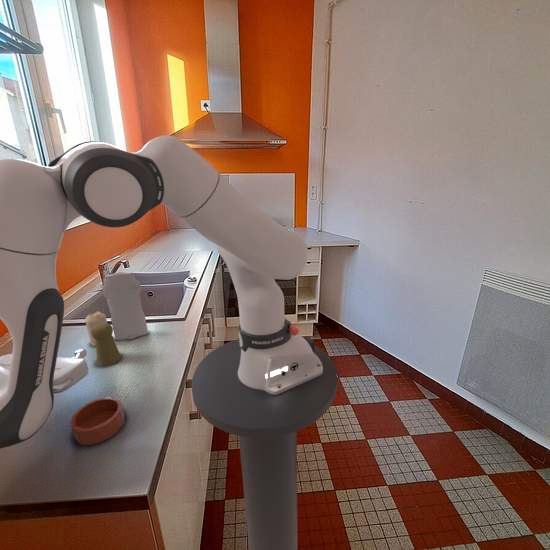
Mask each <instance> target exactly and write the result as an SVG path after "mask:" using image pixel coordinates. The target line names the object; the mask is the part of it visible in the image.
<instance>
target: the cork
mask: <svg viewBox="0 0 550 550" xmlns="http://www.w3.org/2000/svg"><path fill="white" fill-rule="evenodd" d="M113 334H114V331H113V327H112V324H110V323H108V322H107V323H102V324H98V325H96V326H95V327H93V328H92V331H91V335H92V337H93V338H94V339H95V343H96V346H95V351H96V352H95V354H96V364H97V365H98V367H108V366H112V365H114V364H116V363H118V362H119V361H120V360H121V358H122V355H121V353H120V350H119V348H118V346H117V344H116V341H115V338H114V336H113Z"/></svg>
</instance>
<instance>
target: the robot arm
mask: <svg viewBox="0 0 550 550" xmlns="http://www.w3.org/2000/svg"><path fill="white" fill-rule="evenodd" d="M160 204H161V205H163V206H164V207H166V208H167V209H168V210H169V211H171V212H172V213H173V214H175V215H176V216H177V217H179V218H180V219H181V220H182V221H183V222H185V224H187V225H189V226H190V227H191V228H192V229H194V230H195V231H196V232H197V233H199V234H200V235H201V236H202V237H204V238H205V239H206V240H207V241H209V242H211V243H212V244H214V245H215V247H216V250H217V252H218V254H219V255H220V257H221V258H222V260H223V261H224V263H225V265H226V267H227V270H228V272H229V275H230V278H231V281H232V284H233V286H234V290H235V293H236V297H237V303H238V314H239V322H240V323H239V324H238V339H239V342H240V346H241V358H240V365H239V369H238V378H239V380H240V381H241V382H242V383H243V384H244V385H246V386H248V387H250V388H253V389H259V390H264V391H266V392H268V393H270V394H273V395H277V394H280V393H282V392H284V391H287V390H289V389H291V388H293V387H296V386H298V385H300V384H302V383H305V382H307V381H309V380H311V379H314V378H316V377H318V376H320V375H322V374H323V366H322V363H321V361H320V359H319V358H318V357H317V355H316V354H315V353H314V352H315V346H316V342H315V341H314V340H312V339H311V337H309V336H307V335H305V336H301V335H300V334H299V332H300V331H299V328H298V327H297V326H296V325H293V324H292V322H291V321H290V320H288V319H287V318H286V317H285V296H284V292H283V291H282V289H281V287H280V286H279V284H277V282H276V280H283V281H284V280H286V281H288V280H293V279H295V278H297V277H298V276H300V274H301V273H302V272H303V271H304V269H305V267H306V265H307V263H308V257H309V249H308V246H307V245H308V244H307V243H306V241H305V239H304V238H303V237H302V236H300V235H299V234H297V233H295V232H293V231H291V230H290V229H288V228H286V227H284V226H283V225H282V224H280V223H279V222H277V221H276V220H274V218H272V217H271V216H269V215H268V214H267V213H265V212H264V211H263V210H261V209H260V208H258V207H257V206H256V205H254V204H252V203H251V202H250V201H249V200H247V199H246V198H245V197H244V196H242V194H241V193H240V192H238V190H237V189H235V187H234V186H233V185H232V184H230V182H229V181H228V180H227V179H225V177H224V176H223V175H222V174H221V173H220V172H219V171H218V170H217V169H216V168H215V167H214V166H213V165H212V164H211V163H210V162H209V161H208V160H206V158H204V156H202V155H201V154H200V153H198V152H197V151H196V150H195V149H193V148H192V147H191V146H189V145H188V144H187V143H186V142H184V141H183V140H181V139H179V138H178V137H176V136H173V135H169V134H164V135H159V136H156V137H154V138H152V139H151V140H149V141H148V142H147V143H145V144H144V146H143V147H142V149H141V150H139V151H136V152H129V151H127V150H125V149H123V148H120V147H118V146H115V145H113V144H110V143H106V142H102V141H95V140H94V141H93V140H90V141H84V142H81V143H78V144H75V145H73V146H72V147H70V148H69V149H68V150H66V151H65V152H64V153H62V154H61V155H59V156H57V157H56V158H54V159H53V160H51V161H50V162H49V163H48V165H47V166H45V165H41V164H39V163H36V162H34V161H30V160H26V159H25V160H24V159H16V158H4V159H0V321H1V322H2V323H3V324H4V325H5V327H6V328H7V330H8V332H9V334H10V337H11V340H12V352H11V353H7V354H4V355H1V356H0V449H4V448H8V447H12V446H15V445H18V444H21V443H24V442H25V441H28V440H30V438H32V437H34V435H36V434H37V433H38V432H39V431H40V429H41V428H42V427H43V426H44V425H45V423H46V422H47V421H48V419H49V417H50V415H51V413H52V411H53V408H54V404H55V394H60V393H63V392H65V391H67V390H69V389H70V388H72V387H74V386H75V385H76V384H78V383H79V382H80V381H82V380H83V379H84V378H85V377H87V376H88V375H89V366H88V363H87V360H86V359H85V358H86V356H87V355H88V352H87V349H86V348H78V349H77V350H75V351H74V356H71V357H67V356H66V357H65V356H58V353H59V348H60V347H59V346H60V343H61V335H62V330H63V323H64V317H65V316H64V315H65V299H64V298H63V296H62V294H61V292H60V290H59V286H58V283H57V270H56V269H57V266H56V265H57V257H58V254H59V250H60V247H61V244H62V242H63V238H64V235H65V232H66V231H67V229H68V228H69V226H70V224H71V223H72V222H73V221H75V220H76V219H78V218H79V217H83V218H84V219H86V220H87V221H89V222H91V223H94V224H95V225H99V226H101V227H105V228H122V227H123V228H124V227H127V226H129V225H132V224H134V223H136V222H138V221H139V220H140V219H141V218H143V217H144V216H145V215H146V214H147V213H148V212H150V211H151V210H153V209H155V208H156V207H158V206H159V205H160Z"/></svg>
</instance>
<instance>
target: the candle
mask: <svg viewBox="0 0 550 550" xmlns="http://www.w3.org/2000/svg"><path fill="white" fill-rule="evenodd" d="M84 322H85V326H86V330H87V333H88V334H87V335H88V337H89V340H90V344H91V346H93V347H96V343H95V339H94V338H93V337H92V335H91V331H92V328H93V327H95V326H96V325H98V324H102V323H108V320H107V317H106V314H105V313H103V312H101V311H95V312H93V313H89V314H88V315H87V316H86V317H85V319H84Z"/></svg>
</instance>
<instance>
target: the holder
mask: <svg viewBox="0 0 550 550" xmlns="http://www.w3.org/2000/svg"><path fill="white" fill-rule="evenodd" d="M124 422H125V412H124V409H123V404H122V402H121V400H120V399H119V398H116V397H114V396H104V397H100V398H96V399H94V400H91V401H89V402H86V403H85V404H84V405H83V406H80V408H78V409H77V410H76V412H74V413H73V415H72V416H71V419H70V423H69V424H70V428H71V430H72V434H73V436H74V439H75V441H76V443H78V444H80V445H83V446H89V445H90V446H91V445H95V444H99V443H101V442H104V441H106V440H108V439H109V438H111V437H113V436H114V435H115V434H117V432H118V431H120V429H121V428H122V426H123V425H124Z"/></svg>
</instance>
